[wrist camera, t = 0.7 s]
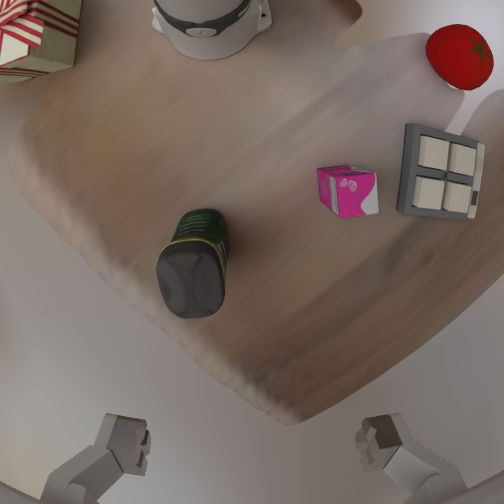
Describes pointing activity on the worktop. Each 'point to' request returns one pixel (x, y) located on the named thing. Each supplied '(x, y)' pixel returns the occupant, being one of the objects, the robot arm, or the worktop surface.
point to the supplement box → (348, 190)
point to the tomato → (460, 56)
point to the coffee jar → (195, 265)
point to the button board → (436, 172)
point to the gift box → (37, 37)
